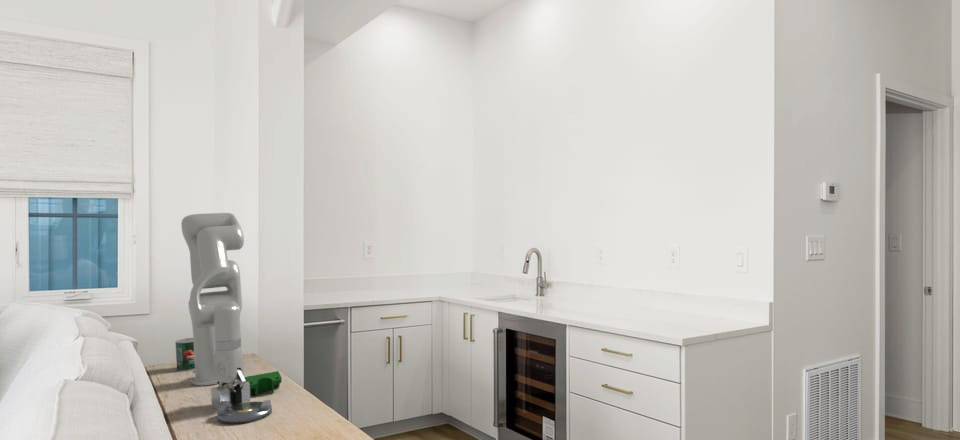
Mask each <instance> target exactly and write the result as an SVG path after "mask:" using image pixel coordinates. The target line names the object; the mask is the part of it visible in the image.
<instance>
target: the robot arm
mask: <svg viewBox="0 0 960 440" xmlns="http://www.w3.org/2000/svg"><path fill="white" fill-rule="evenodd" d="M180 225H181V232H182V236H183V238H184V240H185V243H186V246H187V247H188V250H189V258H190V262H189V263H190V276H191V283H192V288H191V291H190V293H189V294H190V296H189V301H188V311H189V315H190V321H191V326H192V338H193V341H194V358H195V369H193V370H191V371H192V373H193V374H194V377H193V378H191V379H190V384H191V385H193V386H198V387H200V386H201V387H202V386H210V385H211V386H212V385H217V384H218V386H221V385H225V384H231V387H232V391H233V392H231V399H232V405H235V404H240V403H242V392H241V390H242V388H243V386H244V384H245V383H246V380H245V378H244V377H245V365H244V363H245V362H244V356H243V353H242V338H241V337H242V336H241V312H242V308H243V302H242V301H243V297H242V285H241V282H242V281H241V272H240V267H239V265H238V263H237V262H236V261H234V260H231V259H228V251H237V250H239V251H240V250H241V249H242V248H243V246H244V244H245V243H244V242H245V237H244V232H243V229H242V227H241V224H240V222H239V221H238V219H237V218H236V216H235V215H234V214H233V213H230V212H213V213H210V212H209V213H194V214H188V215H186V216H184V217H183V218H182V219H181V224H180ZM215 288H225V289H226V290H217V291H206V292H202V290H204V289H205V290H207V289H215ZM235 383H238V384H237V385H236V387H235Z"/></svg>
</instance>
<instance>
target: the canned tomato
mask: <svg viewBox="0 0 960 440" xmlns="http://www.w3.org/2000/svg"><path fill="white" fill-rule="evenodd" d="M175 357H176V359H175V360H176V361H175V362H176V371H177V372H187V371H193V369H195V358H194V341H193V337H187V338H181V339H177V340H176V341H175Z"/></svg>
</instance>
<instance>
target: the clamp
mask: <svg viewBox="0 0 960 440" xmlns="http://www.w3.org/2000/svg"><path fill="white" fill-rule="evenodd" d="M244 378H245V380H246V382H249V383H250V395H253V394H254V396H255V397H256V398H257V397H259V396H258V395H259V394H260V393H263V392H264V393H265V392H268V391H269V392H271V394H274V392H275V390H278V389H280V384H282V381H283V380H282V375H281V374H280V372H279V371H278V370H276V371H271V372H267V373H260V374H254V375H247V376H244ZM258 393H259V394H258Z"/></svg>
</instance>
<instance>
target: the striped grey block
mask: <svg viewBox="0 0 960 440" xmlns="http://www.w3.org/2000/svg"><path fill="white" fill-rule="evenodd" d="M237 384H238V383H235V387H236V385H237ZM231 392H233V391H232V387H231V384H225V385H221V386H219V385H218V386H215V387H212V388H210V396H211V408H213V409H215V410H218V409H219V407H220V406H221V405H223V404H229V406H232V399H231ZM241 392H242V403H246V402H251V394H250V383H249V382H246V383H245V384H244V386H243V388H242V390H241Z"/></svg>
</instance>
